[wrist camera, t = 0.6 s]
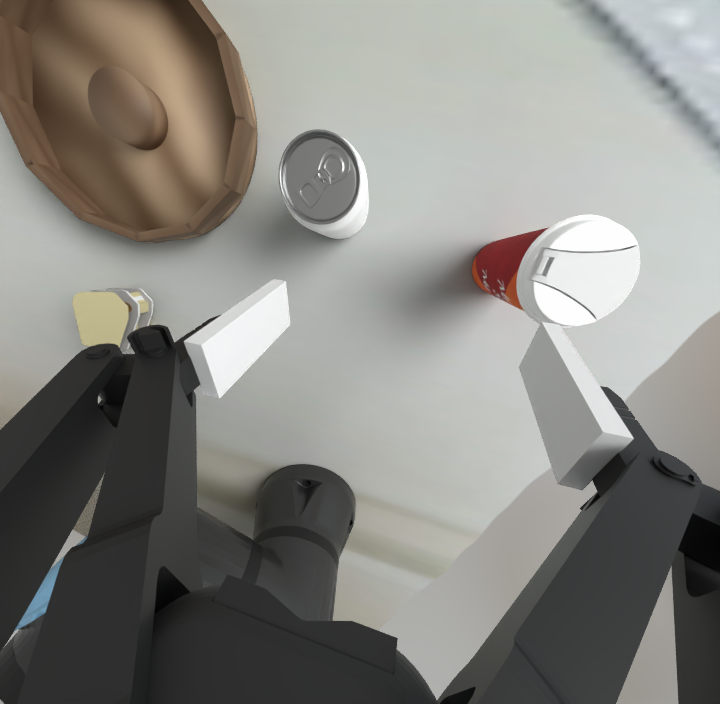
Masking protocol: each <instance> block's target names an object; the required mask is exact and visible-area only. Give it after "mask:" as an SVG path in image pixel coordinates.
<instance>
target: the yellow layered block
mask: <svg viewBox="0 0 720 704" xmlns="http://www.w3.org/2000/svg"><path fill="white" fill-rule="evenodd" d="M73 308H74V312H75V317H76V321H77V325H78V329H79V333H80V338H81V342H82V344H83V345H86V346H93V345H94V346H95V345H97V344H105V343H111V344H116V345H118V347H119V348H122V349H128V348H129V346H130V343H129V341H128V339H127V336H128V335H129V334H130V333H131V332H133V331H134V330H137V329H139V328H142V327H146V326H149V323H150V320H151V317H152V314H153V300H152V299H151V298H150V297H149V296H148V295H147V294H146V293H145V292H144V291H143V290H142V289H140V288H109V289H106V290H94V291H90V292H80V293H77V294H76V295H75V296H74V298H73Z"/></svg>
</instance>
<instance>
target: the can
mask: <svg viewBox="0 0 720 704" xmlns="http://www.w3.org/2000/svg"><path fill="white" fill-rule="evenodd" d="M279 184H280V189H281V193H282V197H283V200H284V202H285V205H286V207H287V208H288V210H289V212H290V213H291V214H292V216H293V217H294V218H295V219H296V220H297V221H298V222H299V223H300V224H302V225H303V226H305V227H306V228H308V229H310V230H312V231H315V232H317V233H320V234H322V235H325V236H327V237H330V238H334V239H344V238H348V237H350V236H352V235H354V234H355V233H357V232H358V231H359V230H360V229H361V228H362V226H363V225H364V223H365V221H366V218H367V215H368V210H369V196H368V181H367V175H366V170H365V167H364V164H363V161H362V159H361V157H360V155H359V154H358V152H357V151H356V150H355V148H354V147H353V146H352V145H351V144H350V143H349V142H348V141H346V140H345V139H344V138H342V137H340V136H338V135H337V134H335V133H333V132H330V131H327V130H310V131H307V132H304V133H302V134H300V135H299V136H297V137H296V138H295V139H293V140H292V141H291V142H290V144H289V145H288V146H287V148H286V149H285V151H284V153H283V156H282V158H281V162H280V166H279Z"/></svg>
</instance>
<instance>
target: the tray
mask: <svg viewBox="0 0 720 704" xmlns="http://www.w3.org/2000/svg"><path fill="white" fill-rule="evenodd" d="M0 112H1V114H2V116H3V118H4V120H5V123H6V125H7V127H8V129H9V131H10V133H11V135H12V137H13V140H14V142H15V144H16V146H17V148H18V150H19V152H20V154H21V157H22V159H23V161H24V163H25V165H26V167H27V168H28V169H29V170H30V171H31V172H32V173H33V174H34V175H36V176H37V177H38V178H39V179H40V180H41V181H42V182H43V183H44V184H45V185H46V186H47V187H48V188H49V189H50V190H51V191H52V192H53V193H54V194H55V195H56V196H57V197H58V198H59V199H60V200H61V201H62V202H63V203H64V204H65V205H66V206H67V207H68V208H69V209H70V210H71V211H72V212H73V213H74V214H75V215H76V216H77V217H78V218H79V219H81V220H83V221H86V222H89V223H91V224H94V225H96V226H99V227H102V228H104V229H107V230H109V231H112V232H115V233H117V234H120V235H122V236H125V237H127V238H130V239H133V240H135V241H138V242H155V243H157V242H162V241H168V240H180V239H189V238H193V237H196V236H200V235H202V234H206V233H207V232H209V231H211V230H213V229H214V228H216V227H217V226H219V225H220V224H222V223H223V222H224V221H225V220H226V219H227V218H228V217H229V216H230V215H231V214H232V213H233V212H234V210H235V209H236V208H237V207H238V205H239V204H240V202H241V200H242V199H243V197H244V195H245V193H246V191H247V188H248V186H249V184H250V181H251V178H252V174H253V171H254V167H255V160H256V154H257V121H256V114H255V108H254V102H253V98H252V94H251V91H250V87H249V83H248V81H247V78H246V75H245V73H244V70H243V68H242V65H241V61H240V56H239V53H238V51H237V50H236V48H235V47H234V45H233V44H232V42H231V41H230V39H229V38H228V36H227V35H226V33H225V32H224V30H223V29H222V28H221V26H220V25H219V24H218V22H217V21H216V19H215V18H214V17H213V15H212V14H211V13H210V11H209V10H208V9H207V7H206V6H205V4H204V3H203V2H202V0H0Z"/></svg>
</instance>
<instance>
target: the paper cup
mask: <svg viewBox="0 0 720 704" xmlns="http://www.w3.org/2000/svg"><path fill="white" fill-rule="evenodd" d="M639 269H640V254H639V246H638V243H637V241H636V239H635V238H634V236H633V235H632V234H631V233H630V232H629V231H628V230H627V229H626V228H624V227H623V226H621V225H620V224H617V223H615V222H613V221H612V220H610V219H608V218H605V217H602V216H597V215H580V216H574V217H571V218H568V219H565V220H562V221H560V222H558V223H556V224H554V225H553V226H551V227H549V228H545V229H541V230H537V231H533V232H529V233H525V234H521V235H517V236H513V237H509V238H505V239H501V240H498V241H495V242H492V243H490V244H488V245H486V246H485V247H484V248H482V249H481V250H480V251H479V253H478V254H477V255H476V257H475V259H474V262H473V265H472V275H473V279H474V281H475V283H476V284H477V285H478V286H479V287H480V288H481V289H483V290H484V291H486V292H488V293H490V294H492V295H493V296H495V297H497V298H499V299H501V300H503V301H505V302H507V303H509V304H511V305H513V306H515V307H517V308H519V309H521V310H523V311H525V312H526V314H527V315H528V316H529V317H530V318H532V319H533V320H534V321H536V322H538V323H539V324H541V322H546V323H553V324H559V325H560V326H561V328H570V327H575V326H581V325H586V324H590V323H593V322H595V321H597V320H599V319H601V318H602V317H604V316H606V315H607V314H609V313H610V312H612V311H613V310H615V309H616V308H617V307H618V306H619V305H620V304H621V303H622V302H623V301H624V300H625V299H626V297H627V296H628V295H629V293H630V291H631V290H632V288H633V286H634V284H635V282H636V280H637V277H638V274H639Z"/></svg>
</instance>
